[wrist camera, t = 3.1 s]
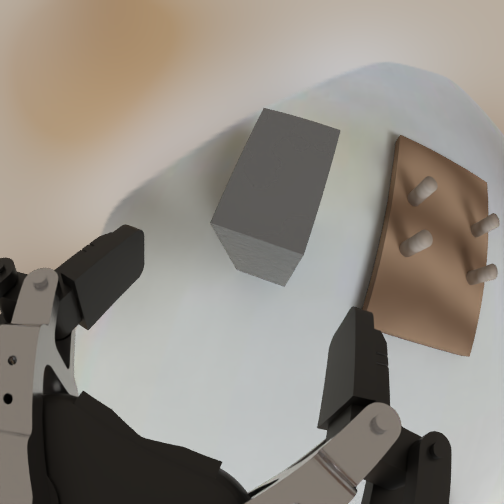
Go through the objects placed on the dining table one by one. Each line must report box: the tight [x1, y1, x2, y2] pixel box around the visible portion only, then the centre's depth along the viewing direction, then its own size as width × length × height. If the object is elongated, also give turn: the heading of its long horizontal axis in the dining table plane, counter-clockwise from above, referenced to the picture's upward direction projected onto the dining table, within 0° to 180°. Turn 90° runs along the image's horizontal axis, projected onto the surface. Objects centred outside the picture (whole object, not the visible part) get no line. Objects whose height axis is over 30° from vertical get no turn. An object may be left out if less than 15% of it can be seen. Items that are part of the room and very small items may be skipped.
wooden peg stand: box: [362, 135, 499, 356], centre depth 18 cm, size 17×11×4 cm, turn 160°
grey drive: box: [211, 108, 340, 287], centre depth 16 cm, size 6×4×10 cm, turn 160°
